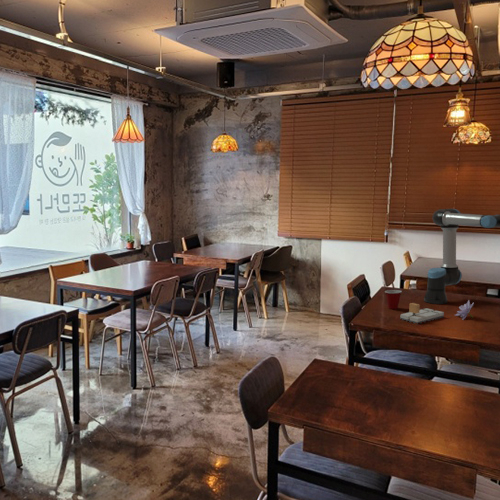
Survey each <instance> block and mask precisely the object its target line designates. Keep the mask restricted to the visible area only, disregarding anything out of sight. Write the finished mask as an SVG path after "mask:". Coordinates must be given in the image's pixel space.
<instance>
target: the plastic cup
mask: <svg viewBox="0 0 500 500" xmlns="http://www.w3.org/2000/svg"><path fill="white" fill-rule="evenodd" d="M384 293H385V295H386V301H387V308H388V309H389V308H391V309H390V310H393V309H395V310H398V308H399V303H400V301H401V300H400V299H401V294H402V290H399V289H387V290H385V291H384Z"/></svg>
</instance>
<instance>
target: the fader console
mask: <svg viewBox="0 0 500 500" xmlns="http://www.w3.org/2000/svg"><path fill="white" fill-rule="evenodd" d="M444 314H445V312H444V311H439V310H434V309H433V308H432V309H431V308H428V307H427V308H420V311H419V313H416V316H413V313H412V312H409V311H408V312H404V313H401V314H400V317H399V320H400V319H402V320H401V321H404V320H406V321H405V322H407V321H409V322H408V323H411V322H413V323H412V324H415V323H417V324H416V325H419V324H418V323H420V324H423V323H422V322H424V323H427V322H426V321H428V322H430V321H431V320H432V321H434V319H435V320H438V319H443V318H444V317H445V315H444Z"/></svg>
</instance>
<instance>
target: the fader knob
mask: <svg viewBox="0 0 500 500" xmlns="http://www.w3.org/2000/svg"><path fill="white" fill-rule="evenodd" d="M420 306H421V305H420V304H419V303H415V302H412V303H411V302H410V303H409V306H408V307H409V308H408V309H409V310H408V313H409V312H412V313H413V316H416V313H419V311H420V310H421V307H420Z"/></svg>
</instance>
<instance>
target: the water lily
mask: <svg viewBox="0 0 500 500" xmlns="http://www.w3.org/2000/svg"><path fill="white" fill-rule="evenodd" d="M474 303H475V302H472V304H471V303H470V299H468V300H467V302H466V303H464V304H463V305H460V306H459V307H458V308H459V310H457V311H456V314H454V316H457V317H458V316H460V318H461V319H462V320H463V321H464V320H465V319H466V318H467V316H468V315H469V316H470V317H471V318H472V319H473V318H474V317H473V315H472V314H471V313H470V311H471V309H472V308H473V306H474Z"/></svg>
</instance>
